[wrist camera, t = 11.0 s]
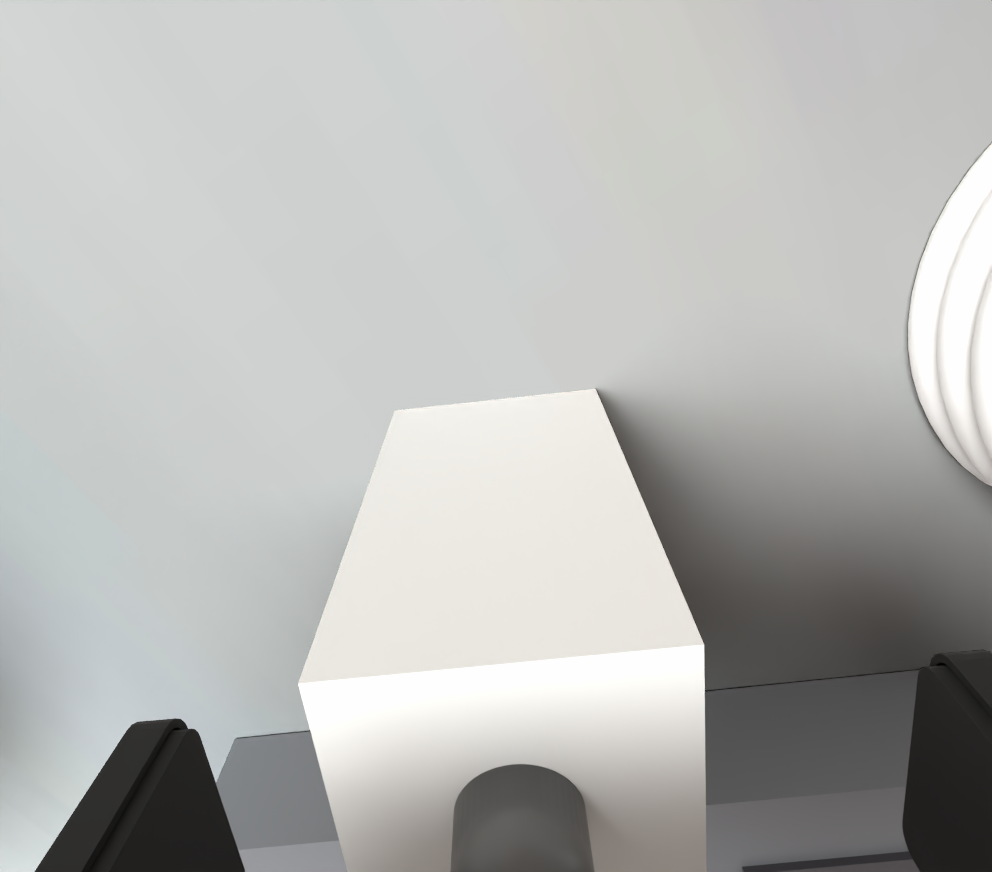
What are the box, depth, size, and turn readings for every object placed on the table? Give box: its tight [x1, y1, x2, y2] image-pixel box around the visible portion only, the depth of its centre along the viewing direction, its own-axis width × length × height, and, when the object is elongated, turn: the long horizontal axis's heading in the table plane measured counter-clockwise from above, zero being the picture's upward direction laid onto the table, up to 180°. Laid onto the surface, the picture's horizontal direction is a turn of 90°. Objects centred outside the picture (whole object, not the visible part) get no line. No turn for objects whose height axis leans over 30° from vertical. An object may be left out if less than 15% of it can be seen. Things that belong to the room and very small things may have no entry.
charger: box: [298, 389, 707, 872], centre depth 12 cm, size 4×4×11 cm
